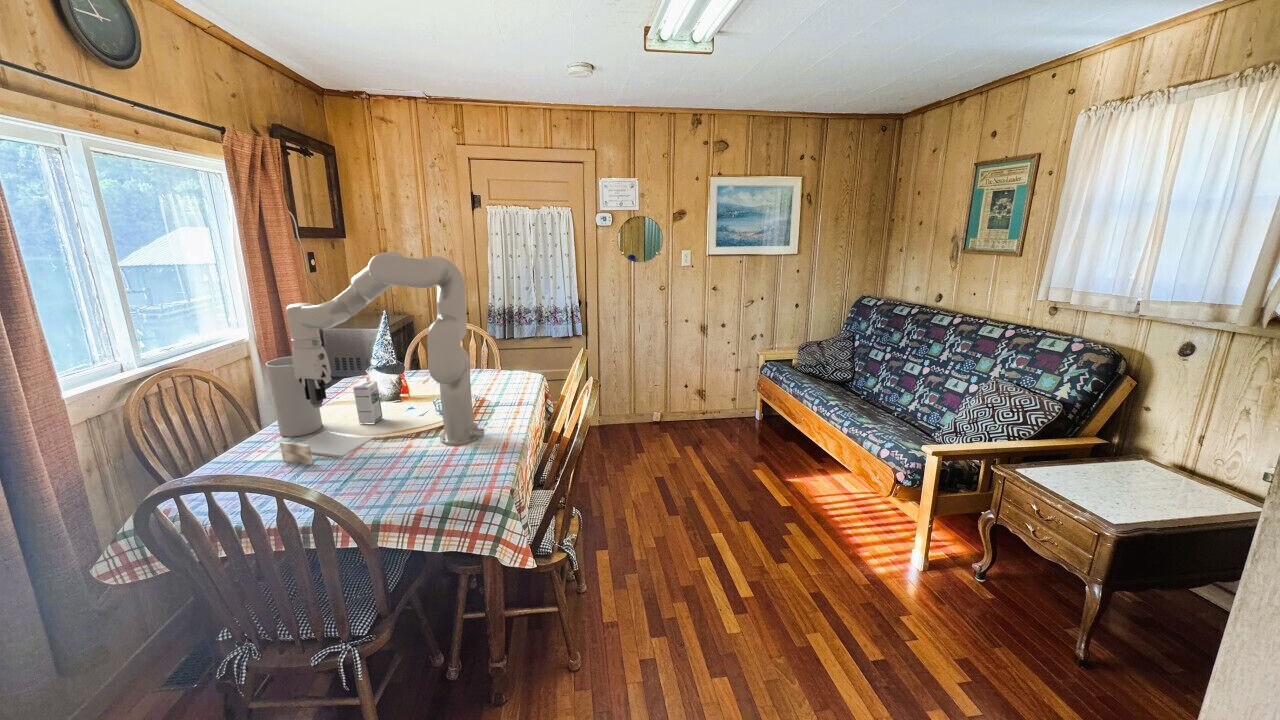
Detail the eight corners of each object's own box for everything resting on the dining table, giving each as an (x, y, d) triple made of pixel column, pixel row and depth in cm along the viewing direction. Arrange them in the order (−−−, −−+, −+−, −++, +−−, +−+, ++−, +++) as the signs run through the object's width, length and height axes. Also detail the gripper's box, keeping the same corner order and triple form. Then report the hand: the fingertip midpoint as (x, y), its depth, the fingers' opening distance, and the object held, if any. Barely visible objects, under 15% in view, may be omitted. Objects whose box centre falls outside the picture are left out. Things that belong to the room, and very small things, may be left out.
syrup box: (375, 424, 182) (369, 386, 178) (358, 424, 183) (352, 386, 179) (383, 418, 188) (377, 381, 184) (367, 418, 188) (361, 381, 184)
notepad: (375, 437, 173) (375, 436, 172) (339, 458, 158) (338, 457, 158) (325, 431, 177) (325, 430, 177) (285, 451, 162) (285, 450, 162)
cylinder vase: (288, 440, 169) (273, 368, 163) (274, 431, 177) (259, 361, 170) (329, 428, 179) (316, 360, 172) (313, 420, 186) (301, 354, 179)
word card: (313, 463, 154) (309, 444, 153) (310, 464, 154) (307, 446, 152) (286, 459, 157) (282, 441, 155) (283, 460, 156) (279, 442, 154)
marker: (326, 404, 166) (320, 369, 163) (317, 408, 162) (311, 373, 159) (317, 403, 166) (311, 369, 163) (308, 407, 163) (302, 372, 160)
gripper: (338, 342, 160) (347, 397, 165) (295, 338, 164) (305, 392, 169) (318, 348, 153) (328, 405, 158) (274, 344, 157) (285, 400, 162)
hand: (316, 398), depth 164 cm, fingers closed on marker, 3 cm apart
